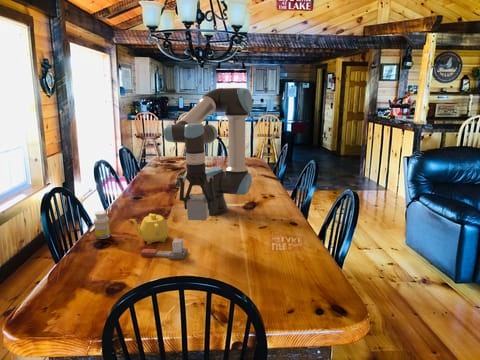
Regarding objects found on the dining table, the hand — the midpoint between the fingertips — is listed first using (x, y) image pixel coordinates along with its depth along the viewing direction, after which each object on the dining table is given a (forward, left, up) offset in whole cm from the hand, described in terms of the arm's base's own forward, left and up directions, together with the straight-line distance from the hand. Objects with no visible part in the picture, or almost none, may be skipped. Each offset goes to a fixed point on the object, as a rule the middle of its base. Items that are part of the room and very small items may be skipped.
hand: (198, 216), depth 156 cm
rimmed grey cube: (0, 0, 0) cm, 0 cm away
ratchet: (+8, -13, -14) cm, 21 cm away
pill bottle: (-9, -46, -14) cm, 49 cm away
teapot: (-6, -23, -14) cm, 28 cm away
